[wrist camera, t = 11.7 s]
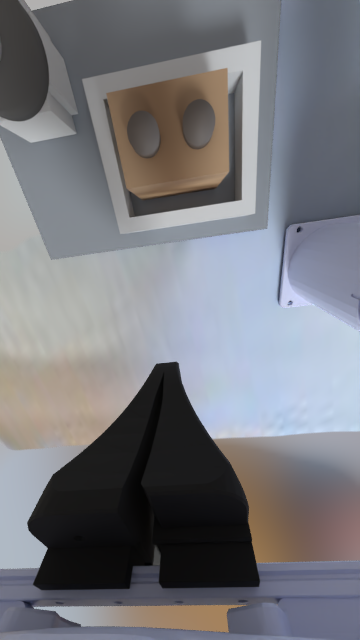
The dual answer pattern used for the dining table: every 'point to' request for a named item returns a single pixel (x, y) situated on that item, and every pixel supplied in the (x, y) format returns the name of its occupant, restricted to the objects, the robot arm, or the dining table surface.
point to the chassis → (136, 70)
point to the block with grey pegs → (173, 134)
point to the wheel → (32, 78)
